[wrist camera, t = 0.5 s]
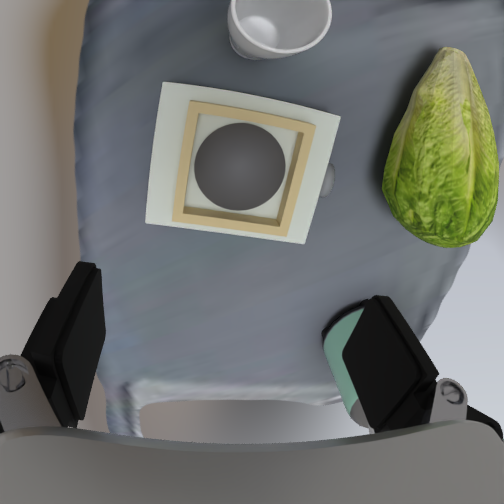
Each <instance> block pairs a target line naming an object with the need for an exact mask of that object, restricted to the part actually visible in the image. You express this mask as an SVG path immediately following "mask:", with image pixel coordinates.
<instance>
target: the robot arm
mask: <svg viewBox="0 0 504 504" xmlns="http://www.w3.org/2000/svg"><path fill="white" fill-rule="evenodd" d="M105 335H106V328H105V318H104V307H103V293H102V276H101V269H98V268H96V265H95V263H88V262H82V261H79V262H78V263H77V264H76V266H75V267H74V270H73V271H72V273H71V275H70V276H69V278H68V280H67V281H66V283H65V285H64V287H63V289H62V290H61V292H60V294H59V296H58V297H57V298H54V297H52V298H50V300H49V301H48V303H47V305H46V306H45V308H44V310H43V312H42V314H41V316H40V318H39V319H38V322H37V323H36V325H35V327H34V329H33V331H32V333H31V335H30V337H29V339H28V341H27V343H26V345H25V347H24V350H23V352H22V354H21V356H19V355H5V356H2V357H0V504H504V439H503V432H502V429H501V426H500V425H499V423H498V422H497V421H495V420H493V419H492V418H490V417H488V416H487V415H485V414H483V413H481V412H479V411H477V410H476V409H474V408H472V407H470V406H469V405H467V394H466V392H465V390H464V389H463V387H462V386H461V385H460V384H459V383H458V382H456V381H454V380H452V379H449V378H443V379H440V380H439V381H438V382H436V380H435V379H436V377H437V376H438V375H439V372H438V371H437V369H436V367H435V366H434V364H433V362H432V361H431V359H430V358H429V356H428V355H427V353H426V351H425V350H424V348H423V347H422V345H421V343H420V342H419V340H418V339H417V337H416V336H415V334H414V333H413V331H412V329H411V328H410V326H409V325H408V323H407V322H406V320H405V319H404V317H403V316H402V314H401V313H400V312H399V310H398V309H397V307H396V306H395V304H394V303H393V301H392V300H391V298H390V297H388V296H377V295H376V296H373V297H372V299H369V300H368V302H367V304H366V306H365V308H364V310H363V312H362V314H361V316H360V318H359V320H358V322H357V324H356V326H355V327H354V329H353V331H352V333H351V335H350V337H349V339H348V341H347V343H346V345H345V346H344V348H343V351H342V359H343V361H344V364H345V366H346V369H347V371H348V373H349V376H350V378H351V381H352V383H353V386H354V388H355V391H356V393H357V396H358V398H359V401H360V403H361V406H362V408H363V411H364V413H365V416H366V418H367V421H368V424H369V426H370V427H371V428H373V430H374V432H375V434H369V435H362V436H355V437H347V438H338V439H329V440H319V441H308V442H293V443H274V444H273V443H272V444H216V443H195V442H194V443H193V442H180V441H169V440H159V439H149V438H140V437H132V436H125V435H118V434H111V433H105V432H97V431H91V430H83V429H77V424H78V420H83V419H84V417H85V412H86V408H87V404H88V400H89V396H90V392H91V388H92V384H93V380H94V376H95V372H96V369H97V365H98V361H99V358H100V354H101V351H102V347H103V344H104V341H105ZM68 426H69V427H73V428H67V427H68Z"/></svg>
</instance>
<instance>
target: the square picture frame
mask: <svg viewBox="0 0 504 504" xmlns="http://www.w3.org/2000/svg"><path fill="white" fill-rule="evenodd" d="M339 121H340V116H337V115H333V114H330V113H327V112H323V111H319V110H316V109H312V108H308V107H304V106H300V105H296V104H292V103H288V102H284V101H279V100H275V99H270V98H265V97H261V96H256V95H251V94H245V93H240V92H235V91H229V90H223V89H217V88H210V87H203V86H196V85H188V84H180V83H171V82H163V84H162V90H161V96H160V102H159V108H158V114H157V121H156V127H155V135H154V142H153V150H152V158H151V166H150V175H149V185H148V196H147V207H146V220H145V223H149V224H157V225H165V226H173V227H180V228H188V229H196V230H204V231H211V232H219V233H226V234H234V235H241V236H249V237H256V238H263V239H270V240H278V241H285V242H292V243H299V244H305V241H306V237H307V234H308V231H309V227H310V224H311V221H312V218H313V214H314V211H315V207H316V204H317V201H318V197H324V198H325V197H327V196H328V195H329V194H330V192H331V190H332V188H333V185H334V180H335V169H334V166H333V164H331V163H328V162H329V158H330V155H331V151H332V148H333V144H334V140H335V136H336V133H337V129H338V125H339Z"/></svg>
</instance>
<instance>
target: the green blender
mask: <svg viewBox="0 0 504 504" xmlns="http://www.w3.org/2000/svg"><path fill="white" fill-rule="evenodd" d="M367 302H368V300H364V301H362V302H361V304H360V306H359V307H357V308H354V309H352V310H350V311H348V312H346V313H345V314H343V315H341V316H340V317H339V318H338V319H337V320H336V321H335V322H333V324H332V325H331V326H330V328H326V329H324V330H323V331H322V336H323V338H324V341H323V350H324V353H325V356H326V359H327V361H328V364H329V367H330V369H331V372H332V374H333V377H334V379H335V382H336V385H337V387H338V390H339V392H340V395H341V398H342V400H343V403H344V405H345V408H346V410H347V412H348V414H349V416H350V417H351V418H352V419H353V420H354V421H355V422H356V423H357V424H359V425H360V426H363V427H366V428H369V433H370V434H375V432H374V430H373V428H371V427H370V426H369V424H368V421H367V418H366V416H365V413H364V411H363V408H362V406H361V403H360V401H359V398H358V396H357V393H356V391H355V388H354V386H353V383H352V381H351V378H350V376H349V373H348V371H347V369H346V366H345V364H344V361H343V359H342V351H343V348H344V346H345V345H346V343H347V341H348V339H349V337H350V335H351V333H352V331H353V329H354V327H355V326H356V324H357V322H358V320H359V318H360V316H361V314H362V312H363V310H364V308H365V306H366V304H367Z"/></svg>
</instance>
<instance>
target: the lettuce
mask: <svg viewBox="0 0 504 504" xmlns="http://www.w3.org/2000/svg"><path fill="white" fill-rule="evenodd" d="M498 179H499V162H498V155H497V149H496V142H495V137H494V132H493V128H492V124H491V120H490V116H489V112H488V109H487V106H486V103H485V100H484V98H483V95H482V92H481V90H480V87H479V85H478V82H477V79H476V77H475V74H474V72H473V69H472V67H471V64H470V62H469V60H468V58H467V57H466V55H465V53H464V52H462V51H460V50H458V49H455V48H451V47H443V48H440V49H439V51H438V52H437V54H436V55H435V57H434V59H433V61H432V63H431V65H430V66H429V68H428V69H427V71H426V72H425V74H424V75H423V77H422V78H421V80H420V81H419V83H418V84H417V86H416V87H415V89H414V90H413V93H412V96H411V99H410V102H409V105H408V108H407V110H406V112H405V114H404V116H403V118H402V120H401V122H400V124H399V126H398V128H397V130H396V131H395V133H394V137H393V140H392V144H391V148H390V151H389V155H388V158H387V162H386V165H385V168H384V176H383V183H382V191H383V193H384V196H385V198H386V200H387V202H388V205H389V207H390V210H391V212H392V214H393V216H394V217H395V218H396V219H397V220H398V221H399V222H400V224H401V225H402V226H403V227H404V228H405V229H406V230H408V231H409V232H411V233H412V234H413V235H415V236H416V237H418V238H419V239H421V240H423V241H425V242H427V243H430V244H433V245H436V246H440V247H443V248H454V247H462V246H465V245H468V244H470V243H473V242H475V241H477V240H478V239H479V238H480V236H481V235H482V234H483V233H484V231H485V230H486V229H487V227H488V226H489V225H490V224H491V222H492V221H493V217H494V213H495V210H496V206H497V201H498V184H499V180H498Z"/></svg>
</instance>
